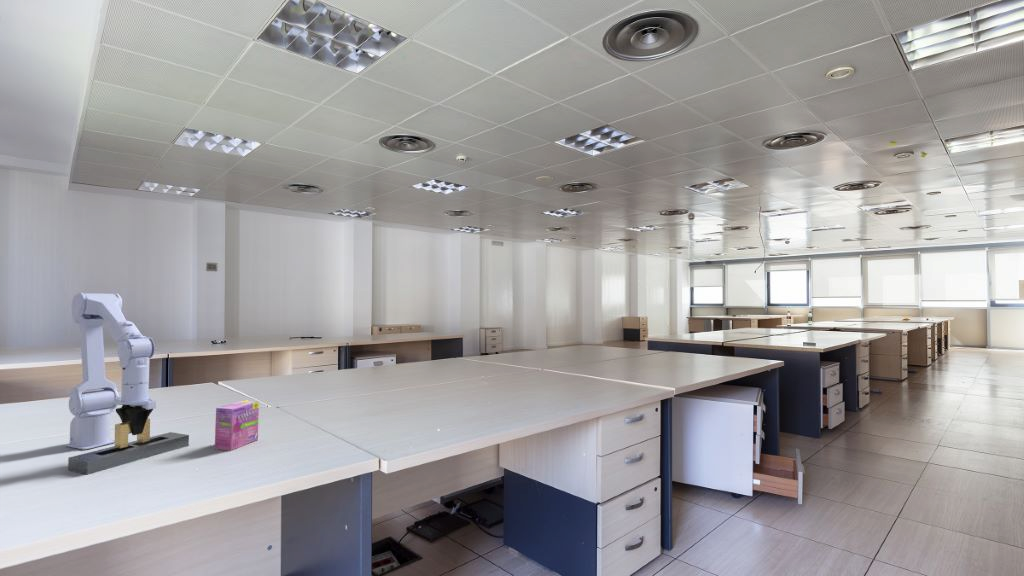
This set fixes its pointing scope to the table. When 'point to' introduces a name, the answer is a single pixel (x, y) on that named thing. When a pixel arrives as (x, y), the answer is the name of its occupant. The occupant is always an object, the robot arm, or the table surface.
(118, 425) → the clip
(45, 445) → the table surface
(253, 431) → the box
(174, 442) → the block
